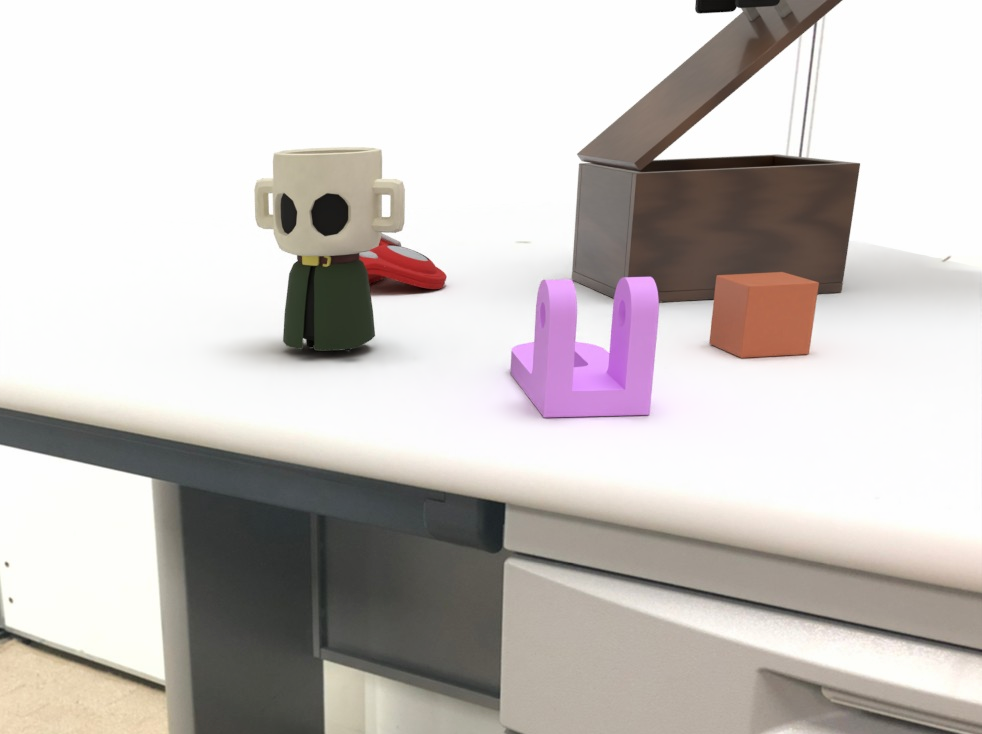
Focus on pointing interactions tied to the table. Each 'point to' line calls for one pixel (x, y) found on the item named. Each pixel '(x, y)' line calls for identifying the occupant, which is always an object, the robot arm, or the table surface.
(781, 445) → the table surface
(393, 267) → the tracker holder
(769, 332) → the block
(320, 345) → the character mug
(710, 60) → the lid
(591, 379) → the bracket
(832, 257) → the walnut box
